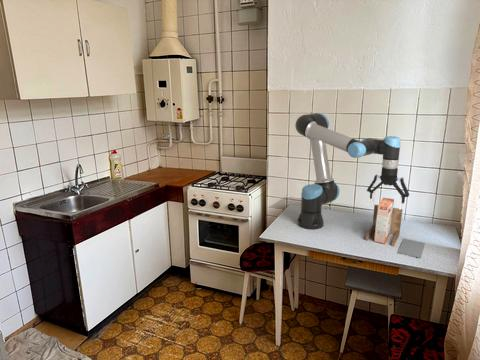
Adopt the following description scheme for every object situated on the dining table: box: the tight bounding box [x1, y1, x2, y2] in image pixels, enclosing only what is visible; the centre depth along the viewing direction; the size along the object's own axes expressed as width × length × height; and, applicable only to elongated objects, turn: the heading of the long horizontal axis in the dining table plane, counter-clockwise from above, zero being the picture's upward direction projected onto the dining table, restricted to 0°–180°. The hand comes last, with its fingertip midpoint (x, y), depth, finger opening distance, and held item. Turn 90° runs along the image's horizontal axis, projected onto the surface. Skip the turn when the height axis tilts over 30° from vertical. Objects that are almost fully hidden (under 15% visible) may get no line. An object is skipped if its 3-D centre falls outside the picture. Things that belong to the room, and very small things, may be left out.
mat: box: [397, 238, 426, 259], centre depth 174 cm, size 10×18×1 cm, turn 147°
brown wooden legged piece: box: [365, 204, 403, 247], centre depth 185 cm, size 14×16×15 cm
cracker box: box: [373, 197, 395, 245], centre depth 183 cm, size 14×6×21 cm, turn 148°
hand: (386, 206), depth 181 cm, fingers open, 13 cm apart
